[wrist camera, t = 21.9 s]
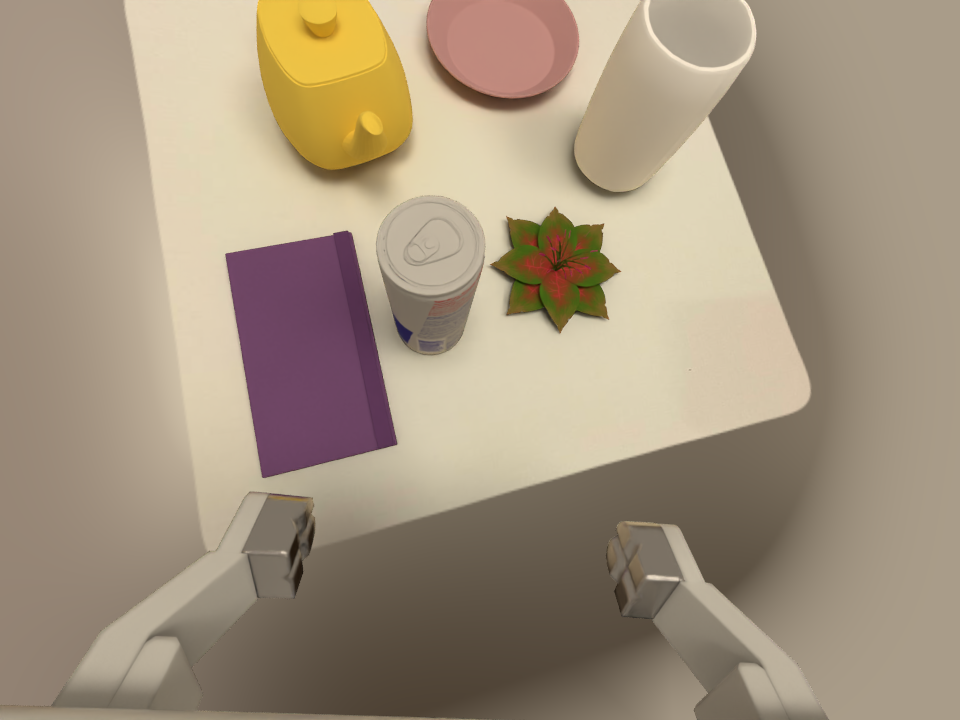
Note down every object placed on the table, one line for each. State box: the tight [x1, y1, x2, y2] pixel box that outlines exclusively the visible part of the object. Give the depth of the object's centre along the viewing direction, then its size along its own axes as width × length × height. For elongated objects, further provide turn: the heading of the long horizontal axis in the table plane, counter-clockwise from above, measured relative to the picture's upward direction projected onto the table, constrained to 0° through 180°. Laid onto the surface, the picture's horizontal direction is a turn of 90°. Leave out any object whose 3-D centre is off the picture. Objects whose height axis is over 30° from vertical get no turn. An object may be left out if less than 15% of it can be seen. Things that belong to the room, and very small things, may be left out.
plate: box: [427, 0, 579, 98], centre depth 41 cm, size 14×14×2 cm
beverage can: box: [376, 195, 485, 355], centre depth 29 cm, size 6×6×15 cm
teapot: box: [257, 0, 413, 170], centre depth 34 cm, size 18×11×11 cm, turn 25°
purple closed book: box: [225, 231, 397, 478], centre depth 34 cm, size 18×10×1 cm, turn 14°
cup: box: [574, 0, 757, 192], centre depth 34 cm, size 8×8×14 cm
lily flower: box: [490, 207, 621, 333], centre depth 36 cm, size 12×12×5 cm
